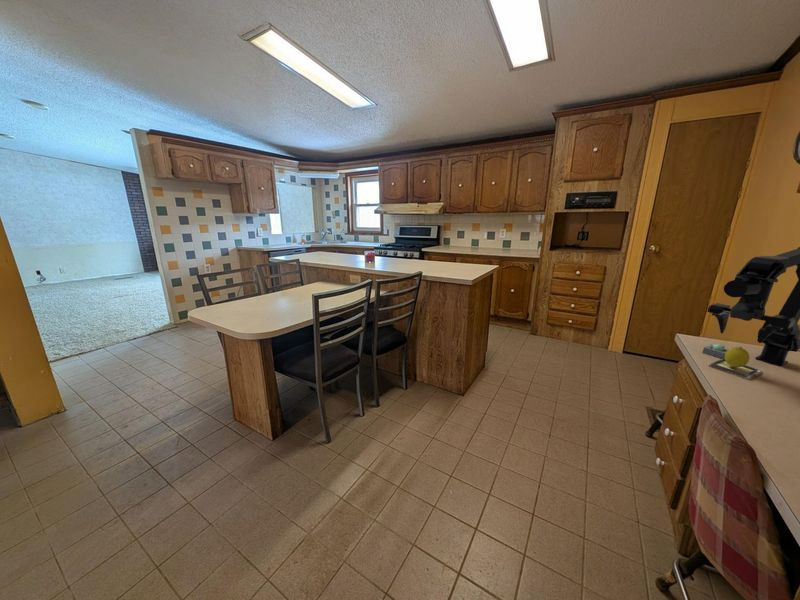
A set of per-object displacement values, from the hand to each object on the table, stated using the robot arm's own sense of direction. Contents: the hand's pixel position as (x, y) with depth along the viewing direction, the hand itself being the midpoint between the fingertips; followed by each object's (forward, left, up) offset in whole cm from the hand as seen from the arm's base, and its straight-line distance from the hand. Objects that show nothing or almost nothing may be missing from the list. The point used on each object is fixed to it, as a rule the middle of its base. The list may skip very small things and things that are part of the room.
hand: (740, 337), depth 101 cm
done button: (-8, -7, -11) cm, 15 cm away
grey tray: (+1, +2, -11) cm, 11 cm away
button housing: (-8, -7, -11) cm, 15 cm away
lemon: (+2, +1, -11) cm, 11 cm away
